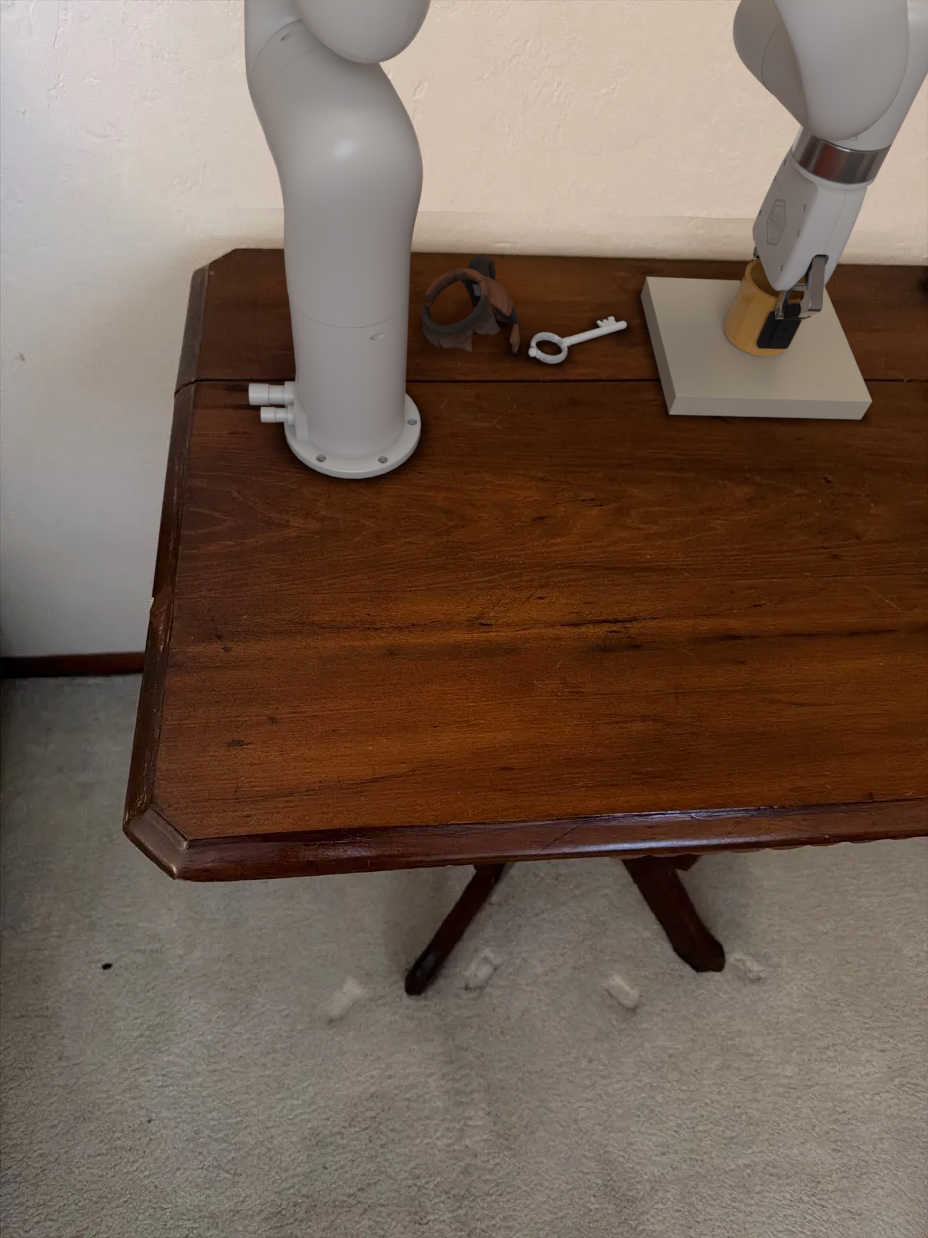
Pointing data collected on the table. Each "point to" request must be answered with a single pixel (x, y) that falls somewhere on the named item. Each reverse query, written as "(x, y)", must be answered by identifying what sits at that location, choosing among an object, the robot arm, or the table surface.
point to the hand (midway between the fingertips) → (762, 319)
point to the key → (572, 339)
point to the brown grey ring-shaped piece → (482, 296)
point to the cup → (754, 309)
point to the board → (747, 358)
